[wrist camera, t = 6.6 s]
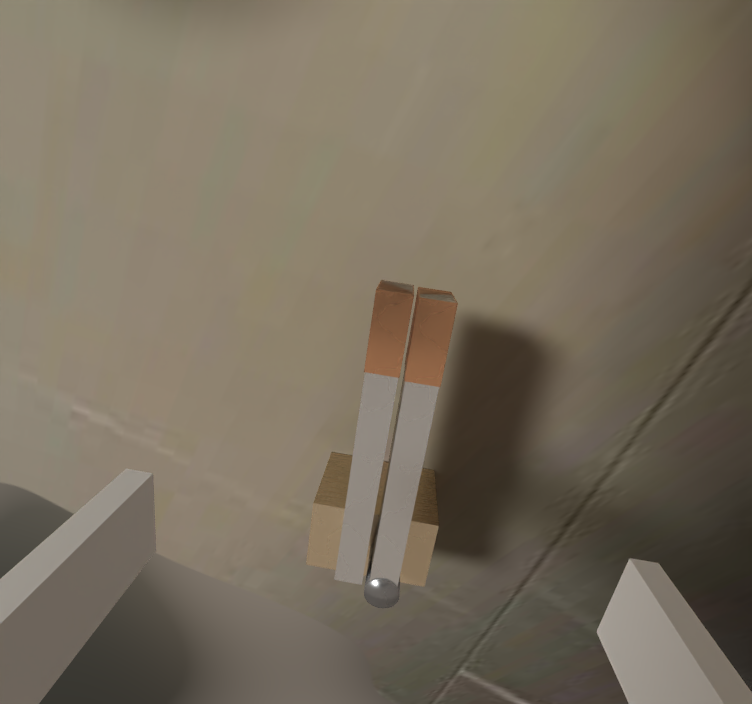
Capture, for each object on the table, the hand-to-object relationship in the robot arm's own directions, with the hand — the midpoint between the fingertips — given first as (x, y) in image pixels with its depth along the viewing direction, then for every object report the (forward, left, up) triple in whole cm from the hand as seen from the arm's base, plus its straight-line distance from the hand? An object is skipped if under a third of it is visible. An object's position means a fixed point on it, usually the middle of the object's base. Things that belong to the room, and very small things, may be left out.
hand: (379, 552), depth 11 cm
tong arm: (+3, +1, -12) cm, 12 cm away
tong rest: (+4, 0, -18) cm, 18 cm away
